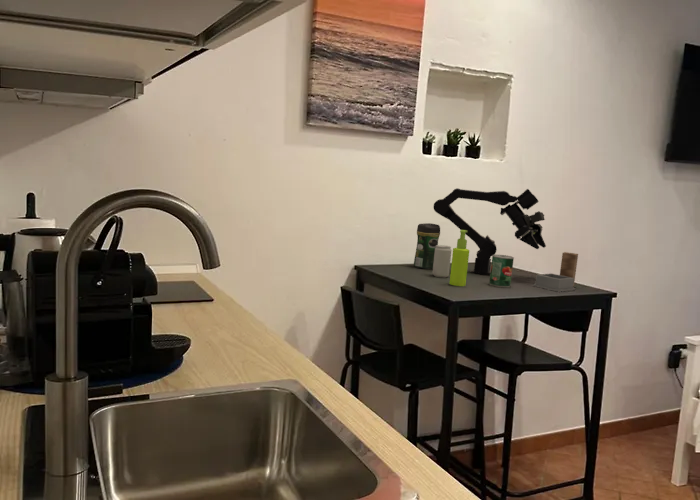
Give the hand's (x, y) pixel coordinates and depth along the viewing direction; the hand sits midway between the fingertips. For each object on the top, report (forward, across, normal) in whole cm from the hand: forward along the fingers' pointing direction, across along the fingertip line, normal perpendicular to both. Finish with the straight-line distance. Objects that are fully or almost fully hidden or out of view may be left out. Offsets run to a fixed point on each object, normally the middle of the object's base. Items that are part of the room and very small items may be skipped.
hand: (541, 247), depth 254 cm
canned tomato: (+4, -23, +15) cm, 28 cm away
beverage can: (-12, -27, +31) cm, 43 cm away
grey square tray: (+16, -8, +4) cm, 18 cm away
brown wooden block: (+17, +2, +2) cm, 18 cm away
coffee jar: (-21, -13, +40) cm, 47 cm away
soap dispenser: (-3, -37, +23) cm, 44 cm away
